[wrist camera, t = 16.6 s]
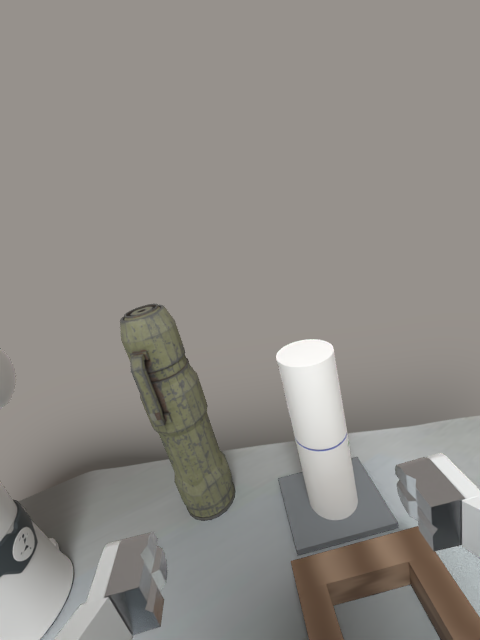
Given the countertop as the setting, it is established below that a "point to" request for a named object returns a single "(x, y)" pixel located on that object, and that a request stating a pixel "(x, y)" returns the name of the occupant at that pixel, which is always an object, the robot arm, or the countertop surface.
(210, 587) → the countertop surface
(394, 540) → the pocket block
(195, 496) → the thermos
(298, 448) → the cylindrical container
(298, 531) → the rubber mat
